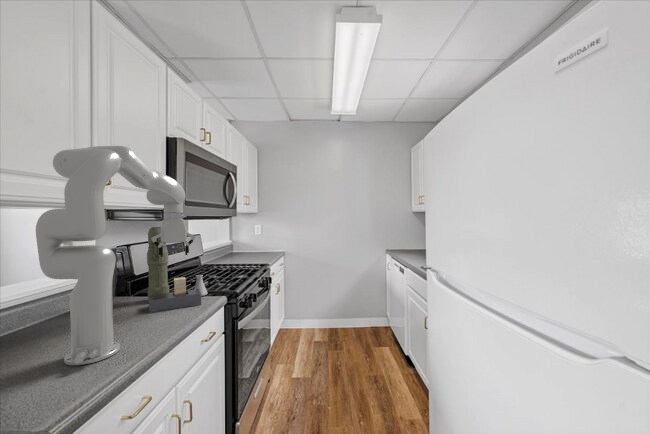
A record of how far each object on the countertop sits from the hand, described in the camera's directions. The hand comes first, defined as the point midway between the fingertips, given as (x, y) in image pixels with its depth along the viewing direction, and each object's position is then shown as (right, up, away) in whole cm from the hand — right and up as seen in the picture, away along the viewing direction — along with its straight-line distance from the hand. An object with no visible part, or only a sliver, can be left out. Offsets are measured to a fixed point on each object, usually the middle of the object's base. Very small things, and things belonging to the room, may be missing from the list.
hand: (174, 255), depth 127 cm
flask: (+3, -23, +18) cm, 29 cm away
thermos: (-13, -23, +11) cm, 29 cm away
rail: (0, -23, +1) cm, 23 cm away
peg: (+2, -23, +2) cm, 23 cm away
